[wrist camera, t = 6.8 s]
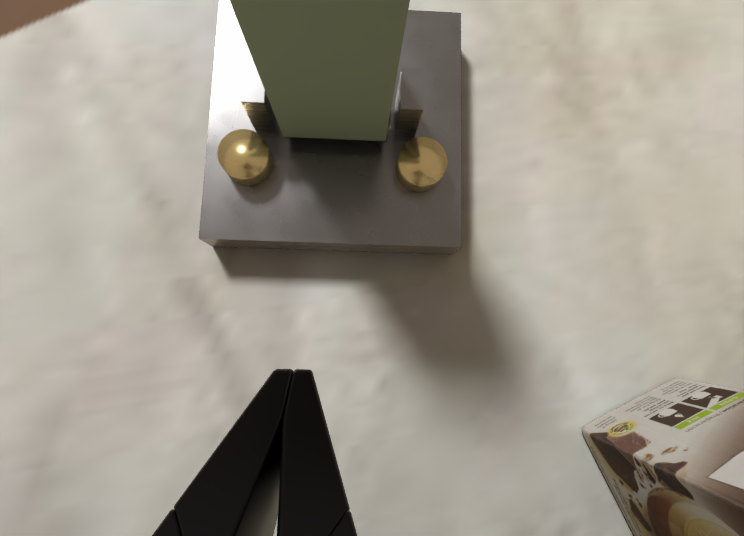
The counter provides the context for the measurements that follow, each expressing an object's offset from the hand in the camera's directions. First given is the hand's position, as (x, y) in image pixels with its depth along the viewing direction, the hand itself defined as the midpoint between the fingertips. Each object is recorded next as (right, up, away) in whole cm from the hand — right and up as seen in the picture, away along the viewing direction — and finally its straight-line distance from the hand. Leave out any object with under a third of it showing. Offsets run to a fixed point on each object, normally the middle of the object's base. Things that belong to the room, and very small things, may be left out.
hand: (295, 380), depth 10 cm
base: (0, +10, +14) cm, 17 cm away
